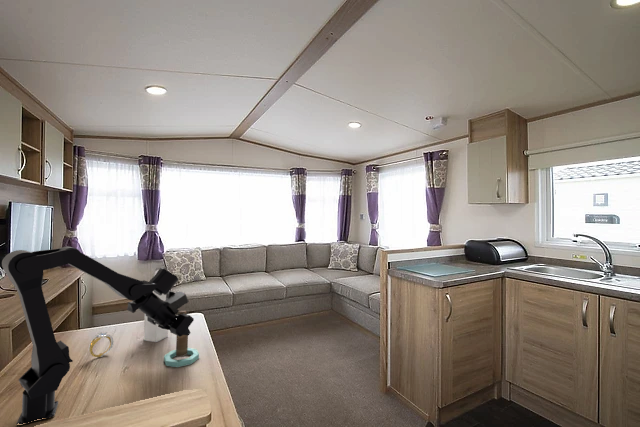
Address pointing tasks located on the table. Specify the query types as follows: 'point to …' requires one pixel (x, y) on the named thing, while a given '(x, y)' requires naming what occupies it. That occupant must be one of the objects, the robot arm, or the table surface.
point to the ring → (99, 336)
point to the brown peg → (182, 343)
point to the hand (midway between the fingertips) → (186, 332)
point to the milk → (154, 327)
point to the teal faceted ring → (182, 362)
